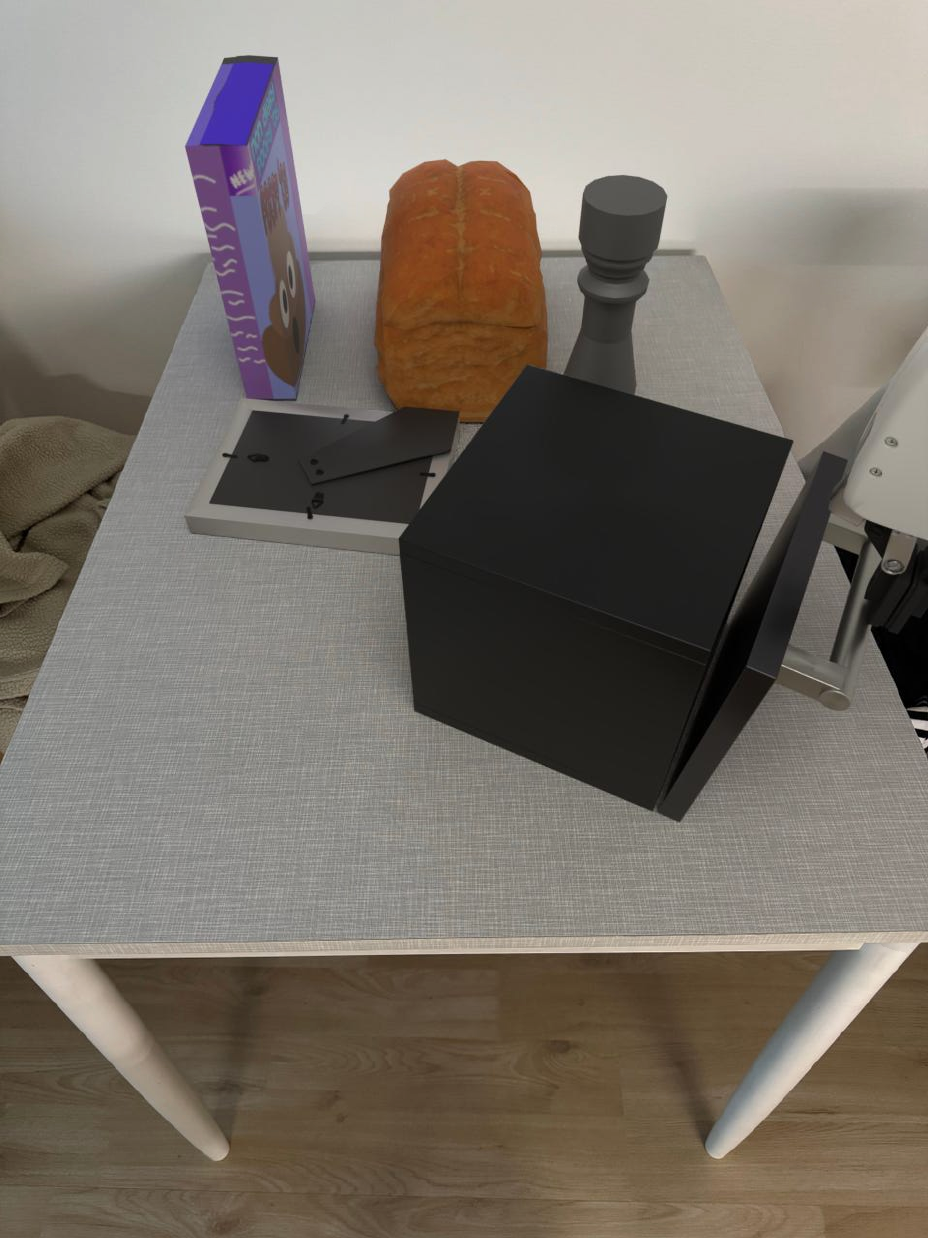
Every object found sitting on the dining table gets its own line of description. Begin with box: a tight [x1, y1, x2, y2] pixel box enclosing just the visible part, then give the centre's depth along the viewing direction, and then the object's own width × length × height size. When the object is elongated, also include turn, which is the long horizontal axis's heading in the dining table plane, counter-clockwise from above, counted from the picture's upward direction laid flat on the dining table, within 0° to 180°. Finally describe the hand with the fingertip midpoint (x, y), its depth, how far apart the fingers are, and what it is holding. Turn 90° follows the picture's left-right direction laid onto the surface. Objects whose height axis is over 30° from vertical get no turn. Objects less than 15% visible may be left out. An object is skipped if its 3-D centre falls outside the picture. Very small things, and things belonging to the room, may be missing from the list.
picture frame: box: [183, 397, 461, 556], centre depth 77 cm, size 16×3×21 cm
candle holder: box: [562, 174, 668, 395], centre depth 69 cm, size 6×6×25 cm
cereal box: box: [184, 54, 316, 402], centre depth 81 cm, size 17×5×24 cm, turn 0°
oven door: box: [657, 450, 882, 823], centre depth 55 cm, size 6×18×18 cm, turn 154°
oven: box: [399, 364, 794, 812], centre depth 58 cm, size 18×18×18 cm
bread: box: [373, 158, 549, 423], centre depth 85 cm, size 16×27×16 cm, turn 1°
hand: (886, 610), depth 49 cm, fingers closed
